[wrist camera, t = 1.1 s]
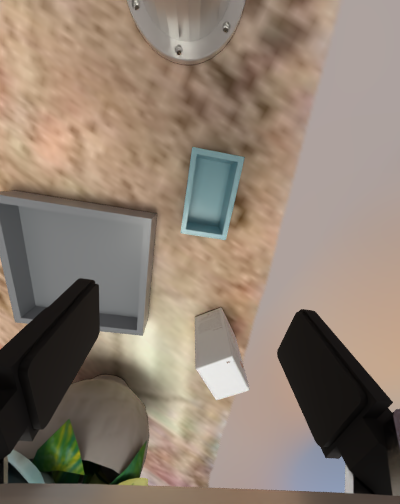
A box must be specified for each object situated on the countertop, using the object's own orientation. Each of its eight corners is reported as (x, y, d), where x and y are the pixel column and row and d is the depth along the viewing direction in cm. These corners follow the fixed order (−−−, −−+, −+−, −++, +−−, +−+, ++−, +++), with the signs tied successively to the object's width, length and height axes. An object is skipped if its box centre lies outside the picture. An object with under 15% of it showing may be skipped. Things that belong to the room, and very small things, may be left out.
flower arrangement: (58, 417, 46) (-74, 654, 23) (42, 339, 37) (-202, 601, 14) (162, 423, 48) (133, 645, 25) (170, 349, 39) (137, 594, 16)
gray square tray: (14, 190, 27) (-15, 192, 23) (157, 213, 29) (151, 218, 25) (34, 306, 34) (15, 322, 30) (147, 319, 36) (142, 335, 32)
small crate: (192, 152, 26) (192, 146, 21) (235, 160, 26) (244, 157, 22) (182, 224, 29) (180, 233, 25) (220, 230, 30) (225, 240, 25)
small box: (194, 316, 36) (194, 368, 26) (221, 306, 35) (232, 355, 25) (210, 345, 39) (215, 402, 29) (236, 336, 38) (250, 391, 28)
